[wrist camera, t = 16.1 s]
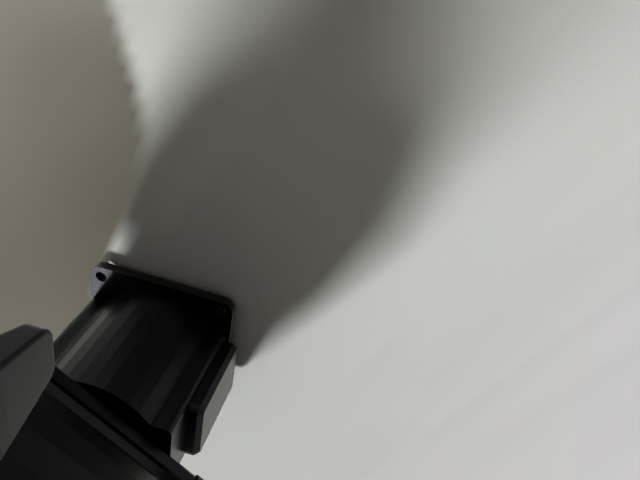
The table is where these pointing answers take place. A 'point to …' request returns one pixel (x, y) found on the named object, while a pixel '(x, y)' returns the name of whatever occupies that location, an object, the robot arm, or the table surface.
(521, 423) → the table surface
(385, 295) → the table surface
